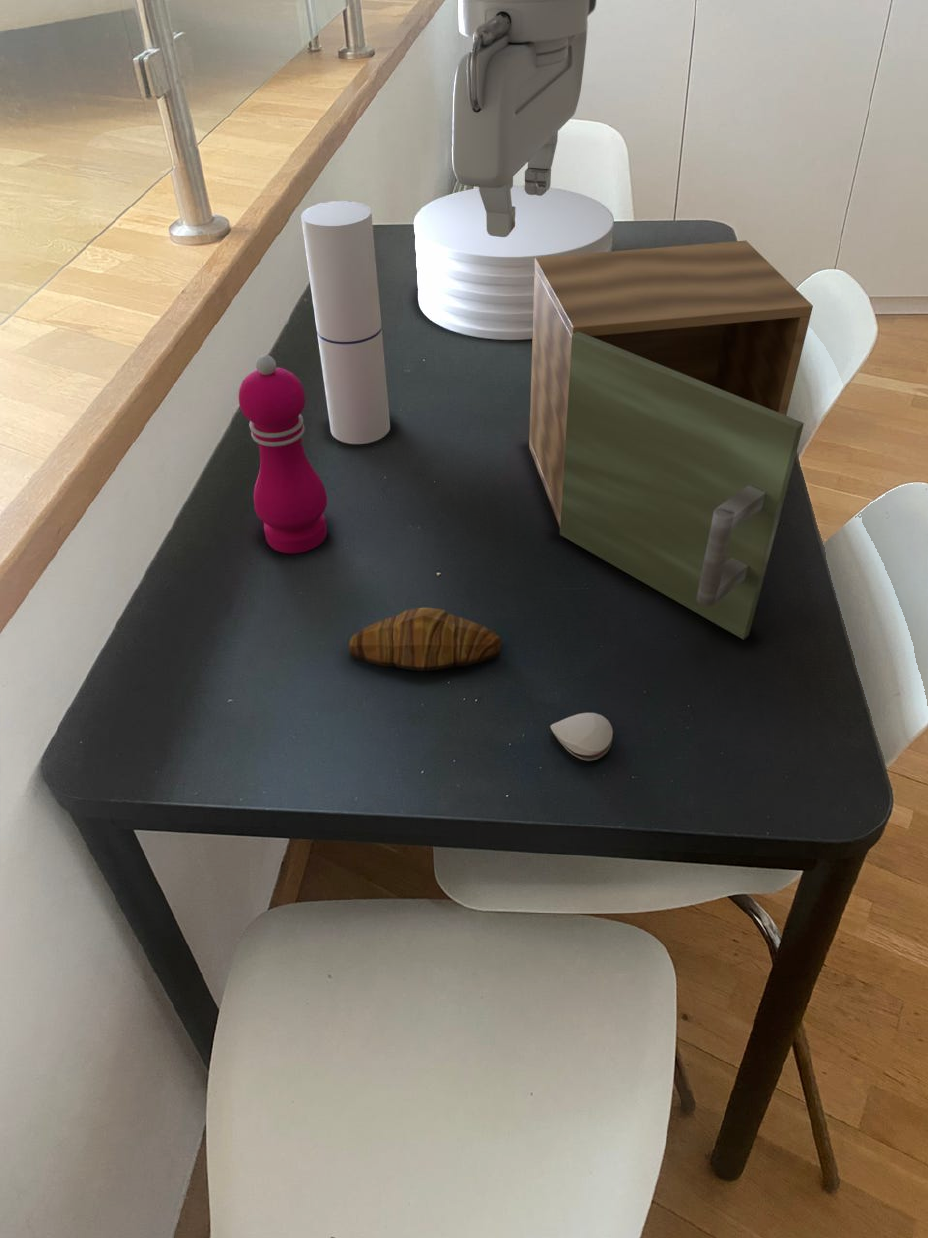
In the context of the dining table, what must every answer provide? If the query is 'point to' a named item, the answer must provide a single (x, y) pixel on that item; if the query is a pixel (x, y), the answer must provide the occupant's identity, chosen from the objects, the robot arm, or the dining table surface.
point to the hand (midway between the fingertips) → (519, 211)
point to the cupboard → (663, 328)
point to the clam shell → (584, 735)
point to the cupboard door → (673, 480)
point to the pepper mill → (283, 460)
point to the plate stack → (498, 257)
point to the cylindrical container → (348, 318)
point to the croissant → (425, 641)
